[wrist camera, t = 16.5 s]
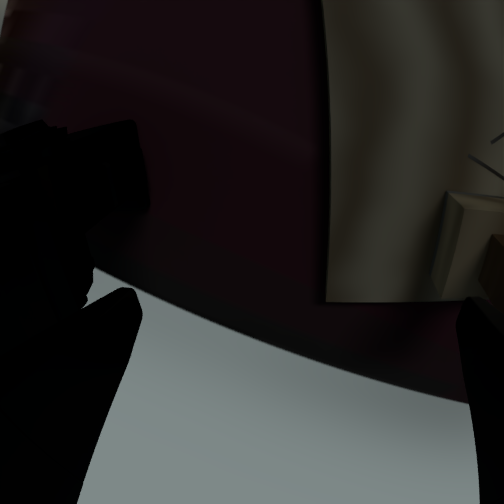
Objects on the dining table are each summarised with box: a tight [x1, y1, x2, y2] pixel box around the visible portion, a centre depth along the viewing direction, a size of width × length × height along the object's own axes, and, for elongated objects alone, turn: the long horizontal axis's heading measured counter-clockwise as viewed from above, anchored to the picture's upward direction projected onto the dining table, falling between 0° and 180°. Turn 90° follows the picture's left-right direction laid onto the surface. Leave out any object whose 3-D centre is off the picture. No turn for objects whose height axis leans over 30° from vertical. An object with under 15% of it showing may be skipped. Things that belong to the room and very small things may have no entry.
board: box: [321, 0, 504, 302], centre depth 15 cm, size 15×22×2 cm
